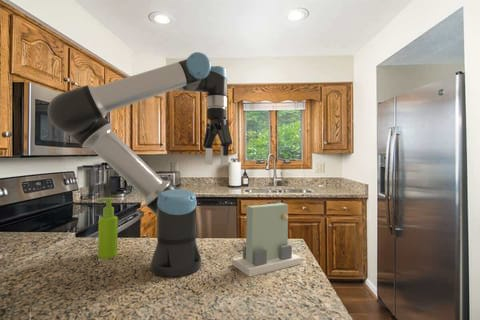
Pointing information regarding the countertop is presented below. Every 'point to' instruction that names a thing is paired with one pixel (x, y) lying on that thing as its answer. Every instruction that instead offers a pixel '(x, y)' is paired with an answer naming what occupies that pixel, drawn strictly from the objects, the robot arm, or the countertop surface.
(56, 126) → the robot arm
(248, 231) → the door
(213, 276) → the countertop surface
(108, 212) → the soap dispenser
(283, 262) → the cabinet base
